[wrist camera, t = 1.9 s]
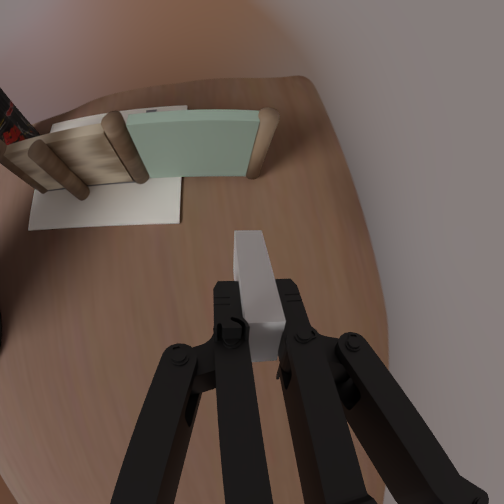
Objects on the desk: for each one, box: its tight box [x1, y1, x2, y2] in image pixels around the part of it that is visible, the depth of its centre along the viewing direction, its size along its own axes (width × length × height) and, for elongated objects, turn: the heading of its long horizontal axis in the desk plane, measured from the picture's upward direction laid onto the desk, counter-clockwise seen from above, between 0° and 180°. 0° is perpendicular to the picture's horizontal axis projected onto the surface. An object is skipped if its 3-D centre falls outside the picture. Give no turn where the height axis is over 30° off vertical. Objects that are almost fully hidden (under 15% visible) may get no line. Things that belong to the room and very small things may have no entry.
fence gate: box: [126, 107, 280, 179], centre depth 26 cm, size 13×2×11 cm, turn 92°
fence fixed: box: [0, 111, 149, 201], centre depth 24 cm, size 17×4×12 cm, turn 92°
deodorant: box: [0, 88, 40, 145], centre depth 22 cm, size 6×6×15 cm
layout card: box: [28, 105, 187, 231], centre depth 31 cm, size 22×17×1 cm
